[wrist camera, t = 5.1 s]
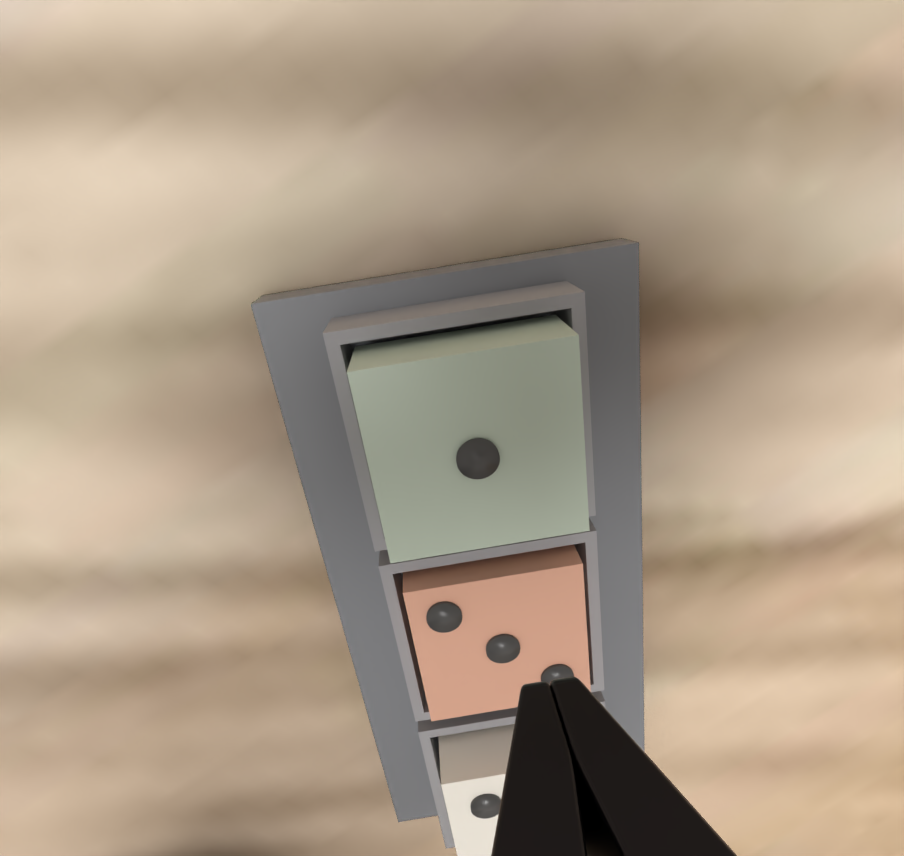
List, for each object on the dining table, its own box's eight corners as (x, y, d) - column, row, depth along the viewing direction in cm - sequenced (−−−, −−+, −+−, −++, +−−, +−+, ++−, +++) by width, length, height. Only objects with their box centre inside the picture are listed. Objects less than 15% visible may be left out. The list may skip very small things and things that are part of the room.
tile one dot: (567, 489, 19) (591, 533, 17) (392, 518, 19) (390, 566, 17) (555, 314, 17) (580, 336, 14) (354, 346, 17) (346, 373, 14)
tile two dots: (589, 796, 26) (608, 860, 23) (458, 818, 25) (463, 885, 23) (582, 701, 23) (603, 761, 21) (437, 725, 23) (441, 788, 21)
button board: (633, 752, 29) (661, 823, 25) (398, 791, 29) (397, 868, 25) (621, 238, 19) (666, 249, 16) (262, 295, 19) (232, 318, 15)
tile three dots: (573, 644, 23) (592, 698, 21) (429, 668, 23) (431, 725, 21) (563, 522, 21) (584, 566, 19) (403, 548, 21) (402, 596, 18)
